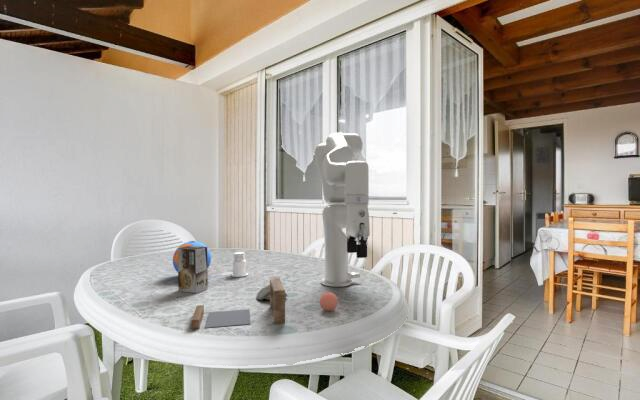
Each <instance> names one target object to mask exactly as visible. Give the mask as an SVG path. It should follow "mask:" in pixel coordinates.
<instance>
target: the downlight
mask: <svg viewBox="0 0 640 400" xmlns="http://www.w3.org/2000/svg"><path fill="white" fill-rule="evenodd" d="M245 258H246V257H245V251H243V252H241V251H239V252H238V251H237V252H234V253H233V260H232V274H231V276H232V277H234V278H239V277H240V278H241V277H246V276H249V273H248V272H247V270H248V264H247V260H246V259H245Z"/></svg>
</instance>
